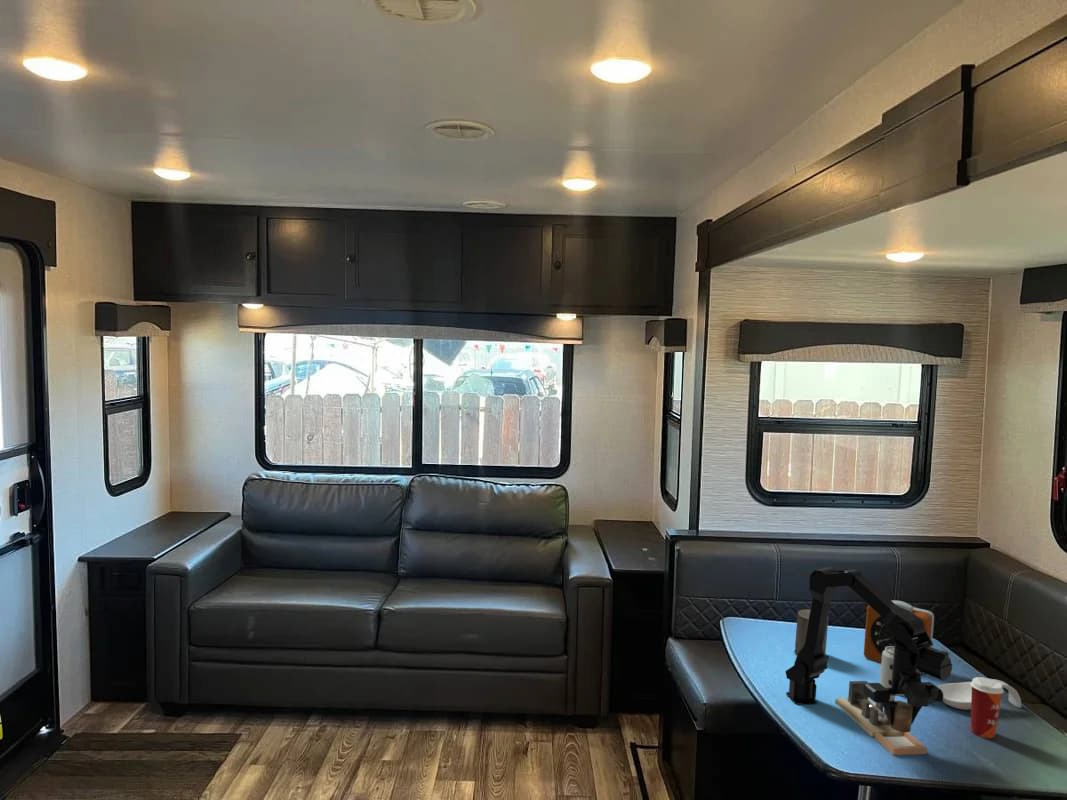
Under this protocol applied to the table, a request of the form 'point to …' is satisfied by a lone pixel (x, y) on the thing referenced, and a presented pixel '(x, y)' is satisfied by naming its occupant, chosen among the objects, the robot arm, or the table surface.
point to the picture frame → (902, 744)
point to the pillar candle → (802, 629)
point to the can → (886, 666)
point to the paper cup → (985, 706)
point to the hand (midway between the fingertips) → (900, 724)
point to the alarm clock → (880, 633)
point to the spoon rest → (961, 694)
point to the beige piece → (867, 717)
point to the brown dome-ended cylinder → (902, 717)
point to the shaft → (862, 698)
